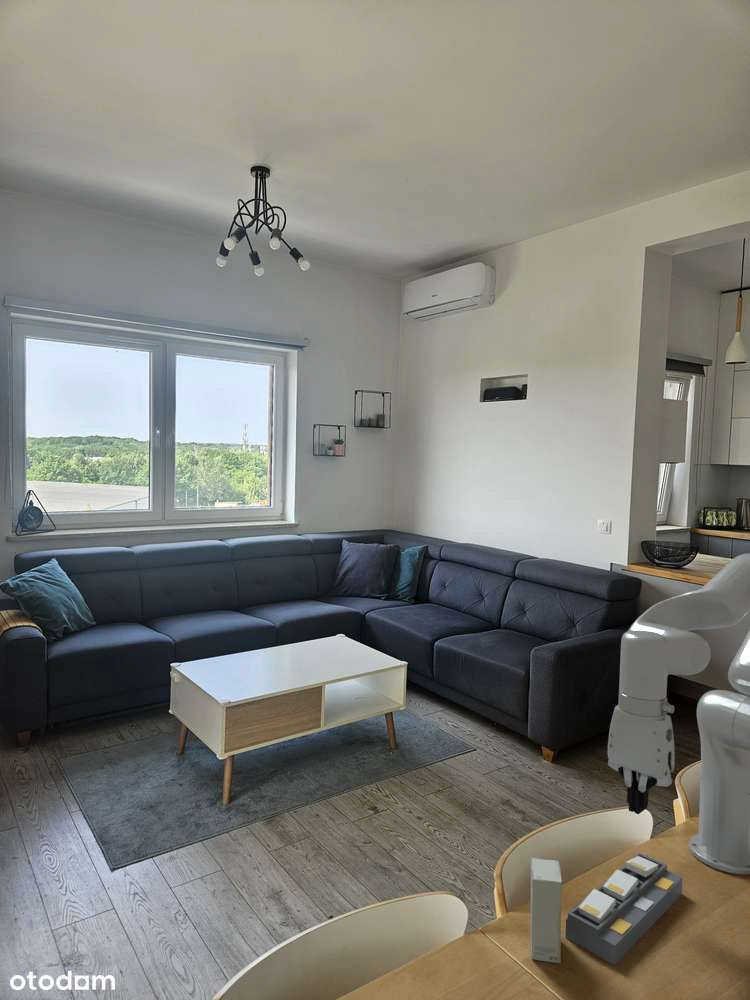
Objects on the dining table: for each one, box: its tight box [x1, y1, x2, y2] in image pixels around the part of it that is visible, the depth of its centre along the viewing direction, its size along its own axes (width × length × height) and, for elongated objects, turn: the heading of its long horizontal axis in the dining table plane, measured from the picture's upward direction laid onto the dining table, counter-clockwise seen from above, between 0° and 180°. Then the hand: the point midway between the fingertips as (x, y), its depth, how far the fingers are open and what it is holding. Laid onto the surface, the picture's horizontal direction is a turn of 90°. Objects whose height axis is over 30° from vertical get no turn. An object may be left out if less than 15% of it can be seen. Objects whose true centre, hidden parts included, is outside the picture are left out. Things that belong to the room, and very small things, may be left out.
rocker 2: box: [603, 869, 638, 901], centre depth 108 cm, size 5×4×1 cm
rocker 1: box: [579, 888, 616, 924], centre depth 102 cm, size 5×4×1 cm
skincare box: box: [529, 857, 563, 964], centre depth 99 cm, size 6×4×12 cm
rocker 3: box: [624, 856, 658, 877], centre depth 113 cm, size 5×4×1 cm
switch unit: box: [565, 852, 683, 966], centre depth 107 cm, size 25×8×4 cm, turn 133°
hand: (637, 809), depth 112 cm, fingers closed
